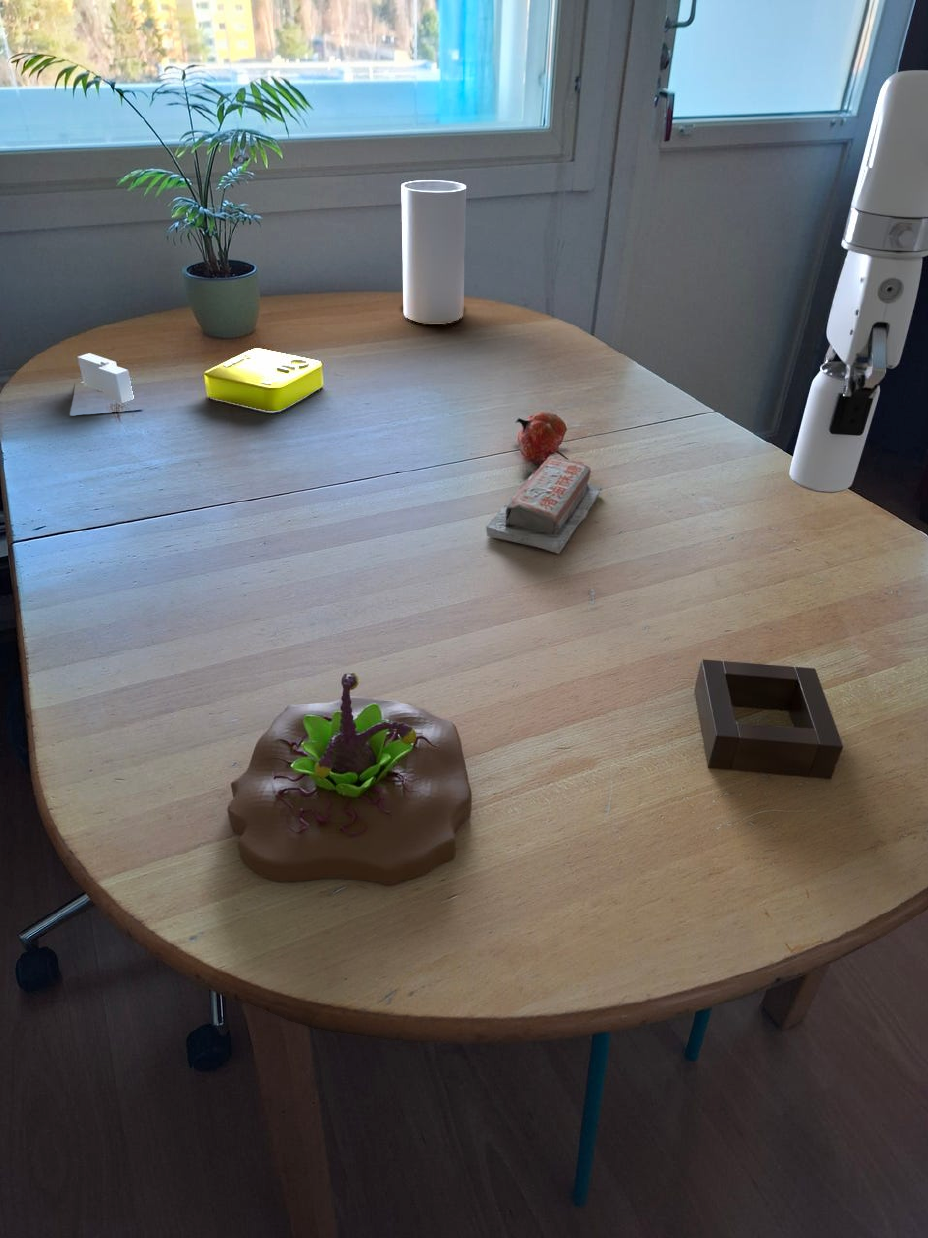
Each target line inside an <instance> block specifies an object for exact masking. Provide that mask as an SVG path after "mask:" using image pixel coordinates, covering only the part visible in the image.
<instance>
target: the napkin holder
mask: <svg viewBox="0 0 928 1238" xmlns="http://www.w3.org/2000/svg"><path fill="white" fill-rule="evenodd" d="M77 361H78V366H79V369H80V374H81V378H82V383H84V385H85V386H88V387H91V388H94V389H96V390H99V391H102V392H103V394H104V397H107V398H109V399H112V400H115V401H117V402H120V403H124V402H127V401H130V400H133V399H134V395H133V391H132V386H131V381H130V379H131V376H130V372H129V371H130V370H129V369H126V368H124V367H120V366H118V365H117V361H115V360H112V359H109V358H105V357H102V356H100V355H96V354H93V353H90V352H89V353H85V354H82V355H78V356H77Z"/></svg>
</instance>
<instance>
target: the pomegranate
mask: <svg viewBox="0 0 928 1238" xmlns="http://www.w3.org/2000/svg"><path fill="white" fill-rule="evenodd" d="M517 423H520V424H521V425H520V429H518V432H517V433H518V434H517V443H518V450H519V452H520V454H521V456H522V457H523V458H524V459H525V460H526V461H527V462H528V463H532V464H535V465H542V464H543V463H544V462H545V461H546V460H547V459H548V457H550V455H554V454H558V455H560V456H561V457H562V458H563V459H566V460H567V459H568V460H570V459H569V458H568V457H566V456H565V455H564V454H563V453H562V452H561V451H559V447H560V446H561V445H562V443H563V440H564V437H565V435H566V432H567V431H568V428H567V424H566V423H565V422H564V420H563V419H562V418H561V417H560V416H558V415H557V414H556V413H555V414H554V413H553V412H552V413H551V412H545V411H541V412H539V413H536V414H532V415H530V416H528V418H527V419H525V420H524V419H522V418H520V417H518V418H517V419H516V421H515V424H517Z"/></svg>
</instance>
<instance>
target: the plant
mask: <svg viewBox="0 0 928 1238" xmlns="http://www.w3.org/2000/svg"><path fill="white" fill-rule="evenodd" d="M340 683H341V687H342V692H341V693H342V695H341V698H340V699H336V700H333V701H328V702H313V703H311V702H310V703H303V704H289V705H287V707H286V708H285V709H284V710H283V711H282V712H281V713H280V714H279V715H277V716H276V718H275V719H273V722H272V723H271V725H270V726H269V728H268V729H267V730H266V731H265V732H264V733H263V734H262V735H261V736H260V738H259V739H258V740H257V742H256V744H255V746H254V749H253V753H252V755H251V758H250V762H249V764H248V767H247V769H246V770H245V771H244V772H243V773H242V775H240V776H239V777H237V778H236V779H235V780H233V781H231V782H230V789H231V794H232V798H233V799H232V800H231V801H230V802H229V804H228V806H227V813H228V819H229V824H230V828H231V830H232V831H233V832H234V833H236V834H237V835H239V836H240V837H239V839H238V840H237V850H238V855H239V859H240V861H242V862H243V863H244V864H245V866H246V867H248V868H249V869H250V870H252V871H253V872H255V873H256V874H257V875H258V876H260V877H263V878H264V879H267V880H270V881H274V882H285V883H286V882H287V883H291V882H293V883H294V882H303V881H311V880H318V879H343V880H344V879H345V880H346V879H347V880H359V881H361V880H362V881H370V882H374V883H377V884H380V885H383V886H394V885H397V884H398V883H400V882H402V881H406V880H411V879H415V878H418V877H421V876H424V875H426V874H428V873H429V872H431V871H432V870H433V869H434V868H437V867H438V866H439V865H441V864H444V863H446V862H449V861H452V860H453V859H455V858H456V855H457V837H456V835H455V834H456V832H457V830H458V829H459V827H460V826H461V825H462V824H463V823H464V822H465V821H466V820H468V818H470V816H471V812H472V803H473V800H472V799H473V798H472V796H473V795H472V789H471V786H470V782H469V775H468V770H467V765H466V760H465V756H464V752H463V745H462V741H461V737H460V734H459V732H458V728H457V726H456V725H455V723H453V722H452V721H448V720H446V719H443V718H441V717H439V716H436V715H435V714H433V713H430V712H428V711H425V710H423V709H421V708H420V707H418V706H416V705H412V704H410V703H406V702H401V701H397V700H393V699H381V698H373V697H363V696H351V691H353V690H355V689H356V688H357V687H358V685H359V677H358V675H357V674H356V673H355V672H345V673H344V674H343V675H342V677H341V681H340Z"/></svg>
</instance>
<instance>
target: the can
mask: <svg viewBox="0 0 928 1238" xmlns="http://www.w3.org/2000/svg"><path fill="white" fill-rule="evenodd" d="M846 367H847V365H846V364H845V363H844V362H843V361H836V362H828V363H825V364H824V363H823V364H821V365H820V367H819V369H820V371H819V372H818V373H817V374H816V376H815V377H814V378H813V380H812V382H811V385H810V389H809V391H808V392H809V393H808V396H807V400H806V404H805V408H804V412H803V416H802V419H801V423H800V427H799V432H798V436H797V439H796V443H795V447H794V450H793V456H792V459H791V463H790V467H789V472H788V473H789V477H790V479H791V480H792V481H793V482H794V483H795V484H796V485H798V486H799V487H801V488H803V489H806V490H808V491H811V492H816V493H822V494H837V493H841V492H844V491H846V490H847V489H848V488H851V486H852V485H853V482H854V479H855V478H856V477H855V476H856V473H857V470H858V467H859V463H860V461H861V457H862V454H863V451H864V447H865V444H866V442H867V441H866V440H867V437H868V434H869V431H870V427H871V424H872V421H873V417H874V415H875V411H876V407H877V403H878V400H879V397H880V392H881V388H880V385H879V386H878V387H877V392H876V396H875V398H874V399H873V402H872V406H871V409H870V412H869V415H868V419H867V422H866V425H865V429H864V432H863V434H862V435H860V436H855V435H839V434H831V433H830V431H829V426H830V422H831V419H832V415H833V411H834V408H835V404H836V400H837V397H838V393H843V387H844V381H845V374H846ZM864 374H865V370H855V377H854V381H855V380H856V379H857V377H858V376H859V375H864Z"/></svg>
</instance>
